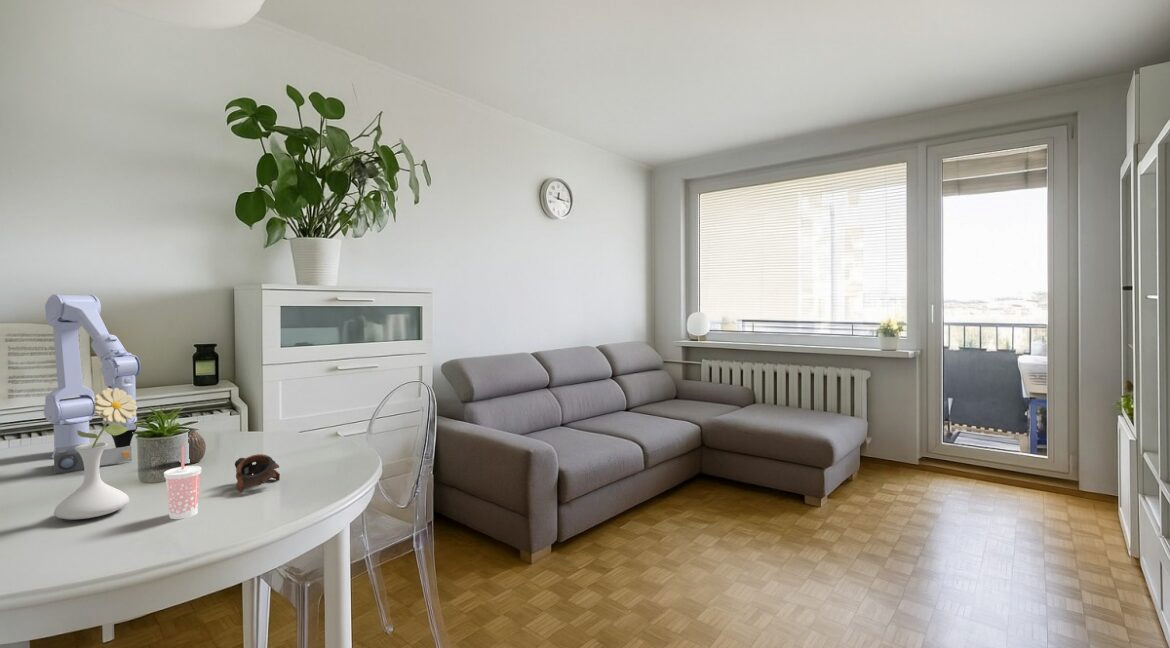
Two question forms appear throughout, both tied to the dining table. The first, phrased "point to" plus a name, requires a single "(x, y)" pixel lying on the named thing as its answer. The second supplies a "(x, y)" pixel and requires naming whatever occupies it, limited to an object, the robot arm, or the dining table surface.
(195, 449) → the brown ribbed ovoid
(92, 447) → the flower in vase
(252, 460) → the brown curved piece
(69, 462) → the camera body
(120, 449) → the side door
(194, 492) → the beverage cup
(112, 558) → the dining table surface
